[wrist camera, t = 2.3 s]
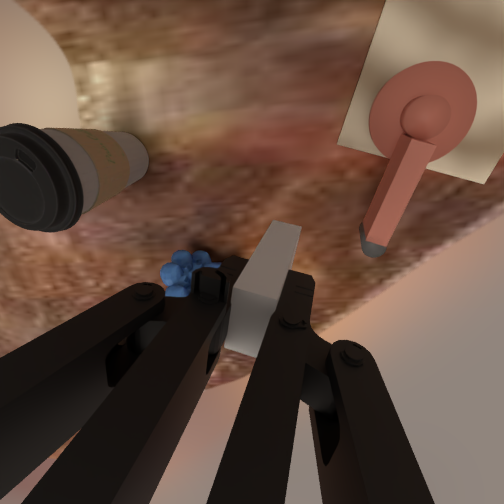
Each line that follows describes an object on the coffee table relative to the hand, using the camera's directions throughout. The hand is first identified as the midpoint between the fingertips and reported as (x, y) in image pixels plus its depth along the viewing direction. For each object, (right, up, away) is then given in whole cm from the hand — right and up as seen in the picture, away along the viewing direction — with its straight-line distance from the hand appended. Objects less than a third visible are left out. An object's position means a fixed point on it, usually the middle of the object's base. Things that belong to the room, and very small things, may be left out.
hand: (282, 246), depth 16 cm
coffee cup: (-17, +12, +22) cm, 30 cm away
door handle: (+11, +8, +9) cm, 16 cm away
